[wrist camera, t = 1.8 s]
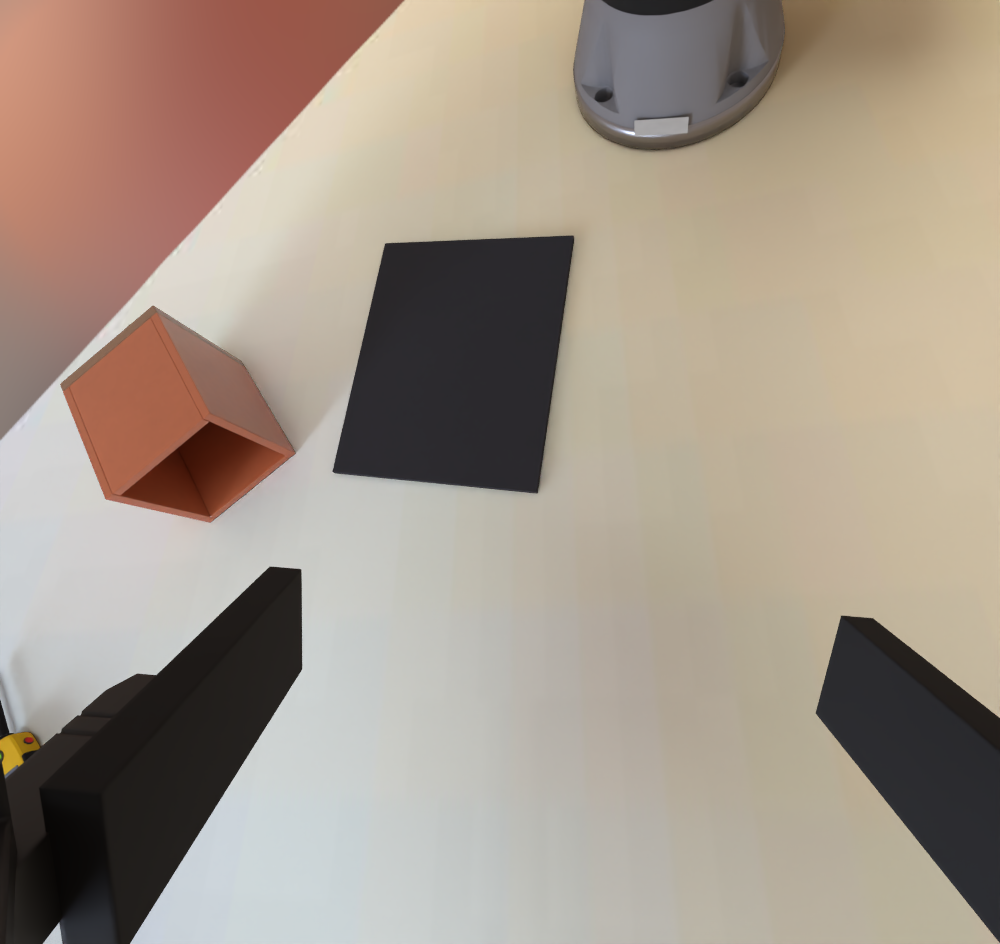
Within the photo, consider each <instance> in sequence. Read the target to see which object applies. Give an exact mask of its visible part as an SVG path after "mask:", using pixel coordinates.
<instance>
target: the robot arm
mask: <svg viewBox="0 0 1000 944" xmlns="http://www.w3.org/2000/svg"><path fill="white" fill-rule="evenodd" d="M784 34H785V24H784V14H783V7H782V0H585V2H584V7H583V13H582V19H581V24H580V30H579V35H578V41H577V47H576V52H575V60H574V68H573V71H574V82H575V89H576V95H577V102H578V105H579V108H580V110H581V113H582V115H583V116H584V118H585V120H586V121H587V122H588V123H589V125H590V126H591V127H592V128H593V129H594V130H595V131H597V132H598V133H599V134H601V135H602V136H604V137H605V138H607V139H609V140H611V141H614V142H616V143H618V144H622V145H625V146H629V147H634V148H641V149H667V148H675V147H680V146H685V145H689V144H692V143H696V142H699V141H701V140H704V139H707V138H709V137H711V136H714V135H716V134H718V133H720V132H722V131H723V130H725V129H727V128H729V127H730V126H732V125H733V124H735V123H736V122H738V121H739V120H740V119H742V118H743V117H744V116H745V115H746V114H747V113H749V112H750V111H751V110H752V109H753V108H754V107H755V106H756V105H757V104H758V103H759V101H760V100H761V99H762V98H763V96H764V95H765V93H766V92H767V90H768V89H769V87H770V85H771V83H772V81H773V79H774V77H775V74H776V72H777V68H778V64H779V60H780V55H781V51H782V46H783V42H784ZM301 670H302V582H301V569H292V568H280V567H269V568H268V569H267V570H266V571H265V572H264V573H263V574H262V575H261V576H260V577H259V578H257V579H256V580H255V581H254V582H253V583H252V584H251V585H250V586H249V587H248V588H247V589H246V590H245V591H244V592H243V593H242V594H241V595H240V596H239V597H238V598H237V599H236V600H235V601H233V602H232V603H231V604H230V605H229V606H228V607H227V608H226V609H225V610H224V611H223V612H222V613H221V614H220V615H219V616H218V617H217V618H216V619H215V620H214V621H213V622H212V623H210V624H209V625H208V626H207V627H206V628H205V629H204V630H203V631H202V632H201V633H200V634H199V635H198V636H197V637H196V638H195V639H194V640H193V641H192V642H191V643H190V644H189V645H188V646H186V647H185V648H184V649H183V650H182V651H181V652H180V653H179V654H178V655H177V656H176V657H175V658H174V659H173V660H172V661H171V662H170V663H169V664H168V665H167V666H166V667H165V668H163V669H162V670H161V671H160V672H159V673H158V674H157V675H146V674H136V675H134V676H132V677H130V678H128V679H126V680H124V681H123V682H121V683H119V684H117V685H115V686H113V687H111V688H109V689H108V690H106V691H105V692H103V693H102V694H101V695H100V696H99V697H98V698H97V699H95V700H94V701H93V702H92V703H91V704H90V705H89V706H87V707H86V708H85V709H84V710H83V711H82V714H81V715H80V716H78V715H77V716H76V717H75V718H74V719H73V720H71V721H70V722H69V723H68V724H67V725H66V726H65V727H63V728H62V731H61V733H60V734H55V735H54V736H53V737H52V738H51V739H50V740H49V741H47V742H46V743H45V744H44V745H43V746H42V747H41V748H39V749H38V750H37V751H36V752H35V753H34V754H33V755H32V756H30V757H29V758H28V759H27V760H26V761H25V762H24V763H22V764H21V765H20V766H19V767H18V768H17V769H16V770H14V771H13V772H12V773H11V774H10V775H9V776H8V777H6V778H5V776H4V770H3V764H2V762H1V759H0V944H43V942H44V941H45V940H46V939H47V937H48V936H49V935H50V933H51V932H52V931H53V929H54V928H55V927H56V926H57V924H58V923H59V922H60V929H61V936H62V942H63V944H130V942H131V941H132V939H133V938H134V936H135V934H136V933H137V931H138V930H139V928H140V927H141V925H142V923H143V922H144V920H145V919H146V917H147V915H148V914H149V912H150V911H151V909H152V907H153V906H154V904H155V903H156V901H157V899H158V898H159V896H160V895H161V893H162V892H163V890H164V888H165V887H166V885H167V884H168V882H169V880H170V879H171V877H172V876H173V874H174V872H175V871H176V869H177V868H178V866H179V864H180V863H181V861H182V860H183V858H184V856H185V855H186V853H187V852H188V850H189V849H190V847H191V845H192V844H193V842H194V841H195V839H196V837H197V836H198V834H199V833H200V831H201V829H202V828H203V826H204V825H205V823H206V821H207V820H208V818H209V817H210V815H211V813H212V812H213V810H214V809H215V807H216V806H217V804H218V802H219V801H220V799H221V798H222V796H223V794H224V793H225V791H226V790H227V788H228V786H229V785H230V783H231V782H232V780H233V778H234V777H235V775H236V774H237V772H238V770H239V769H240V767H241V766H242V764H243V763H244V761H245V759H246V758H247V756H248V755H249V753H250V751H251V750H252V748H253V747H254V745H255V743H256V742H257V740H258V739H259V737H260V735H261V734H262V732H263V731H264V729H265V727H266V726H267V724H268V723H269V721H270V720H271V718H272V716H273V715H274V713H275V712H276V710H277V708H278V707H279V705H280V704H281V702H282V700H283V699H284V697H285V696H286V694H287V692H288V691H289V689H290V688H291V686H292V684H293V683H294V681H295V680H296V678H297V677H298V675H299V673H300V672H301ZM816 714H817V715H818V717H819V718H820V719H821V720H822V722H823V723H824V724H825V725H826V727H827V728H828V729H829V730H830V732H831V733H832V734H833V735H834V737H835V738H836V739H837V740H838V742H839V743H840V744H841V745H842V747H843V748H844V749H845V750H846V752H847V753H848V754H849V755H850V757H851V758H852V759H853V760H854V762H855V763H856V764H857V765H858V767H859V768H860V769H861V770H862V772H863V773H864V774H865V775H866V777H867V778H868V779H869V780H870V782H871V783H872V784H873V785H874V787H875V788H876V789H877V790H878V792H879V793H880V794H881V795H882V797H883V798H884V799H885V800H886V802H887V803H888V804H889V805H890V807H891V808H892V809H893V810H894V812H895V813H896V814H897V815H898V816H899V818H900V819H901V820H902V821H903V823H904V824H905V825H906V826H907V828H908V829H909V830H910V831H911V833H912V834H913V835H914V836H915V838H916V839H917V840H918V841H919V843H920V844H921V845H922V846H923V848H924V849H925V850H926V851H927V853H928V854H929V855H930V856H931V858H932V859H933V860H934V861H935V863H936V864H937V865H938V866H939V868H940V869H941V870H942V871H943V873H944V874H945V875H946V876H947V878H948V879H949V880H950V881H951V883H952V884H953V885H954V886H955V888H956V889H957V890H958V891H959V893H960V894H961V895H962V896H963V898H964V899H965V900H966V901H967V903H968V904H969V905H970V906H971V908H972V909H973V910H974V911H975V913H976V914H977V915H978V916H979V917H980V919H981V920H982V921H983V922H984V924H985V925H986V926H987V927H988V929H989V930H990V931H991V932H992V934H993V935H994V936H995V937H996V939H997V940H998V941H999V942H1000V718H999V717H998V716H996V715H995V714H994V713H993V712H991V711H990V710H989V709H987V708H986V707H985V706H984V705H982V704H981V703H980V702H979V701H977V700H976V699H975V698H973V697H972V696H971V695H970V694H968V693H967V692H966V691H965V690H963V689H962V688H961V687H959V686H958V685H957V684H956V683H954V682H953V681H952V680H951V679H949V678H948V677H947V676H946V675H944V674H943V673H942V672H940V671H939V670H938V669H937V668H935V667H934V666H933V665H932V664H930V663H929V662H928V661H926V660H925V659H924V658H923V657H921V656H920V655H919V654H918V653H916V652H915V651H914V650H912V649H911V648H910V647H909V646H907V645H906V644H905V643H904V642H902V641H901V640H900V639H898V638H897V637H896V636H895V635H893V634H892V633H891V632H890V631H888V630H887V629H886V628H884V627H883V626H882V625H881V624H879V623H878V622H877V621H876V620H874V619H873V618H863V617H851V616H841V619H840V623H839V627H838V630H837V634H836V638H835V642H834V646H833V649H832V653H831V657H830V661H829V665H828V668H827V672H826V676H825V680H824V684H823V687H822V691H821V695H820V699H819V703H818V706H817V710H816Z"/></svg>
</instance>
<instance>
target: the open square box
mask: <svg viewBox="0 0 1000 944" xmlns="http://www.w3.org/2000/svg"><path fill="white" fill-rule="evenodd" d="M60 385H61V388H62V390H63V393H64V396H65V398H66V401H67V403H68V406H69V408H70V411H71V413H72V416H73V418H74V421H75V423H76V426H77V428H78V431H79V434H80V436H81V439H82V441H83V444H84V446H85V449H86V451H87V454H88V456H89V459H90V461H91V464H92V466H93V469H94V471H95V474H96V476H97V479H98V481H99V484H100V486H101V489H102V491H103V494H104V496H105V499H106V500H111V501H115V502H120V503H124V504H129V505H133V506H138V507H142V508H147V509H151V510H156V511H160V512H165V513H169V514H174V515H178V516H183V517H187V518H192V519H196V520H201V521H205V522H212V521H213V520H214V519H215V518H217V517H218V516H219V515H220V514H221V513H223V512H224V511H225V510H226V509H228V508H229V507H230V506H231V505H232V504H234V503H235V502H236V501H237V500H239V499H240V498H241V497H242V496H244V495H245V494H246V493H247V492H248V491H250V490H251V489H252V488H253V487H255V486H256V485H257V484H258V483H259V482H261V481H262V480H263V479H264V478H266V477H267V476H268V475H269V474H271V473H272V472H273V471H274V470H275V469H277V468H278V467H279V466H280V465H282V464H283V463H284V462H285V461H286V460H288V459H289V457H292V456H293V455H294V454H295V451H294V450H293V448H292V446H291V444H290V443H289V441H288V439H287V438H286V436H285V434H284V433H283V431H282V429H281V427H280V426H279V424H278V422H277V421H276V419H275V417H274V416H273V414H272V412H271V410H270V409H269V407H268V405H267V404H266V402H265V400H264V399H263V397H262V395H261V393H260V392H259V390H258V388H257V387H256V385H255V383H254V381H253V380H252V378H251V376H250V375H249V373H248V371H247V370H246V368H245V367H244V365H243V363H242V361H240V360H239V359H237V358H236V357H234V356H232V355H231V354H229V353H228V352H226V351H225V350H223V349H221V348H220V347H218V346H217V345H215V344H213V343H212V342H210V341H209V340H207V339H206V338H204V337H202V336H201V335H199V334H198V333H196V332H194V331H193V330H191V329H190V328H188V327H187V326H185V325H183V324H182V323H180V322H179V321H177V320H175V319H174V318H172V317H171V316H169V315H167V314H166V313H164V312H163V311H161V310H160V309H158V308H156V307H155V306H152V307H150V308H149V309H148V310H147V311H146V312H145V313H143V314H142V315H141V316H140V317H139V318H137V319H136V320H135V321H134V322H133V323H132V324H130V325H129V326H128V327H127V328H126V329H124V330H123V331H122V332H121V333H120V334H119V335H117V336H116V337H115V338H114V339H113V340H112V341H110V342H109V343H108V344H107V345H106V346H104V347H103V348H102V349H101V350H100V351H99V352H97V353H96V354H95V355H94V356H93V357H91V358H90V359H89V360H88V361H87V362H86V363H84V364H83V365H82V366H81V367H80V368H78V369H77V370H76V371H75V372H74V373H73V374H71V375H70V376H69V377H68V378H67V379H66V380H64V381H63V382H62V383H61V384H60Z"/></svg>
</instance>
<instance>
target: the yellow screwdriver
mask: <svg viewBox="0 0 1000 944" xmlns="http://www.w3.org/2000/svg"><path fill="white" fill-rule="evenodd" d="M39 748H40V746H39V745H38V743H37V741H36V740H35V738H34V737H33V735H32V734H31V733H30V732H22V733H16V734H14V733H9V730H8V726H7V722H6V719H5V715H4V712H3V708H2V705H1V701H0V759H1V762H2V764H3V770H4V776H5V778H6V777H8V776H9V775H10V774H11V773H12V772H13V771H14V770H16V769H17V768H18V767H19V766H20V765H21V764H22V763H24V762H25V761H26V760H27V759H28V758H29V757H30V756H32V755H33V754H34V753H35V752H36V751H37V750H38V749H39Z"/></svg>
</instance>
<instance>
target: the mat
mask: <svg viewBox="0 0 1000 944" xmlns="http://www.w3.org/2000/svg"><path fill="white" fill-rule="evenodd" d="M573 243H574V236H553V237H529V238H505V239H481V240H457V241H433V242H409V243H386V244H385V247H384V251H383V255H382V260H381V264H380V268H379V273H378V277H377V281H376V286H375V290H374V294H373V299H372V303H371V307H370V312H369V316H368V320H367V325H366V329H365V333H364V338H363V342H362V346H361V351H360V355H359V359H358V364H357V368H356V372H355V377H354V381H353V385H352V390H351V394H350V398H349V403H348V407H347V411H346V416H345V420H344V424H343V429H342V433H341V437H340V442H339V446H338V450H337V455H336V459H335V463H334V468H333V472H334V473H339V474H349V475H359V476H369V477H379V478H389V479H399V480H409V481H419V482H429V483H439V484H449V485H459V486H469V487H479V488H489V489H499V490H509V491H519V492H529V493H538V487H539V480H540V474H541V467H542V460H543V453H544V446H545V439H546V432H547V425H548V418H549V411H550V404H551V397H552V390H553V383H554V376H555V369H556V362H557V355H558V348H559V341H560V334H561V327H562V320H563V313H564V306H565V299H566V292H567V285H568V278H569V271H570V264H571V257H572V250H573Z"/></svg>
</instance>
